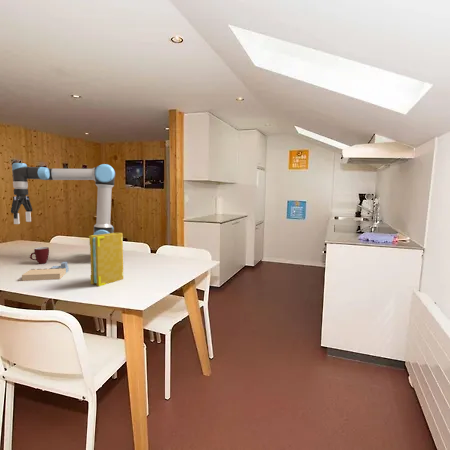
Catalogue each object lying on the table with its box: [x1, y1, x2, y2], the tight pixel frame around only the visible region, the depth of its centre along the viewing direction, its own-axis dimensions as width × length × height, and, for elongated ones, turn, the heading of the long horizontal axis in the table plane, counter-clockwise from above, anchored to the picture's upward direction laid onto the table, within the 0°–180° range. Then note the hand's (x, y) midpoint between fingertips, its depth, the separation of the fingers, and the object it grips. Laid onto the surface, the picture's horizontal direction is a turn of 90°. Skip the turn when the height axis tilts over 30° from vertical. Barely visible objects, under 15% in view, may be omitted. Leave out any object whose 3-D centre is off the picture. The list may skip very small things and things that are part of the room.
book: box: [88, 232, 124, 287], centre depth 161 cm, size 17×7×25 cm, turn 148°
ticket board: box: [21, 268, 67, 282], centre depth 168 cm, size 18×12×3 cm, turn 104°
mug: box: [29, 246, 50, 265], centre depth 198 cm, size 10×8×10 cm
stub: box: [49, 261, 69, 273], centre depth 178 cm, size 8×5×5 cm
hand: (22, 222), depth 191 cm, fingers open, 13 cm apart
